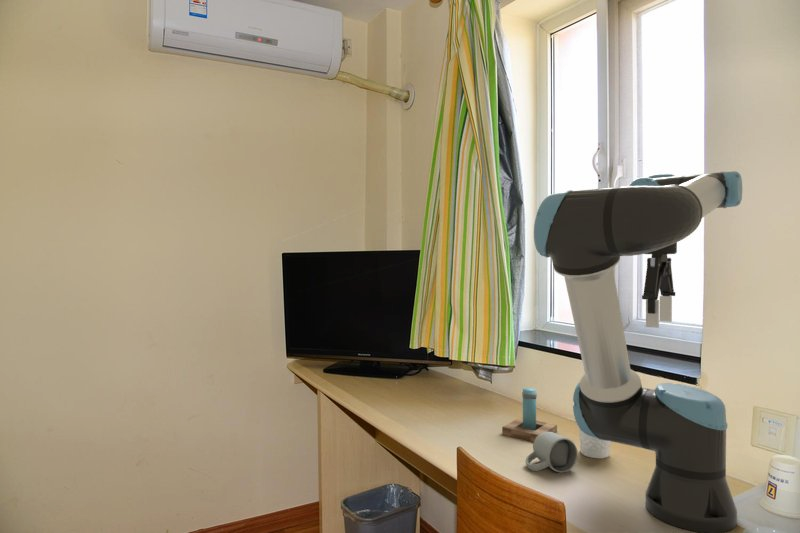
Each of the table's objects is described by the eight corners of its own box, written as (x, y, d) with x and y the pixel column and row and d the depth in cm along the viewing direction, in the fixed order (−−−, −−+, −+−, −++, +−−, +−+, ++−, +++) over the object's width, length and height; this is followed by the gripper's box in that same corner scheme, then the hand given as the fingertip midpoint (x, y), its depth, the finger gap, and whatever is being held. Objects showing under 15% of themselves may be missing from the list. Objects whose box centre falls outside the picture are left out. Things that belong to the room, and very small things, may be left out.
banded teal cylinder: (532, 436, 141) (532, 392, 141) (519, 433, 144) (519, 389, 143) (538, 432, 144) (538, 389, 144) (526, 429, 147) (526, 387, 146)
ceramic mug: (557, 457, 126) (556, 426, 126) (578, 470, 119) (578, 437, 119) (518, 463, 123) (518, 431, 123) (537, 477, 115) (537, 443, 115)
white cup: (590, 461, 124) (590, 419, 124) (571, 449, 132) (571, 410, 131) (619, 457, 126) (619, 416, 126) (598, 446, 134) (598, 407, 134)
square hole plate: (540, 443, 136) (540, 435, 136) (502, 434, 143) (502, 427, 143) (556, 431, 145) (556, 424, 145) (520, 424, 152) (520, 417, 152)
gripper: (655, 239, 141) (655, 318, 141) (629, 237, 122) (628, 328, 122) (686, 239, 136) (686, 320, 137) (664, 236, 117) (664, 331, 117)
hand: (659, 324), depth 129 cm, fingers open, 13 cm apart
